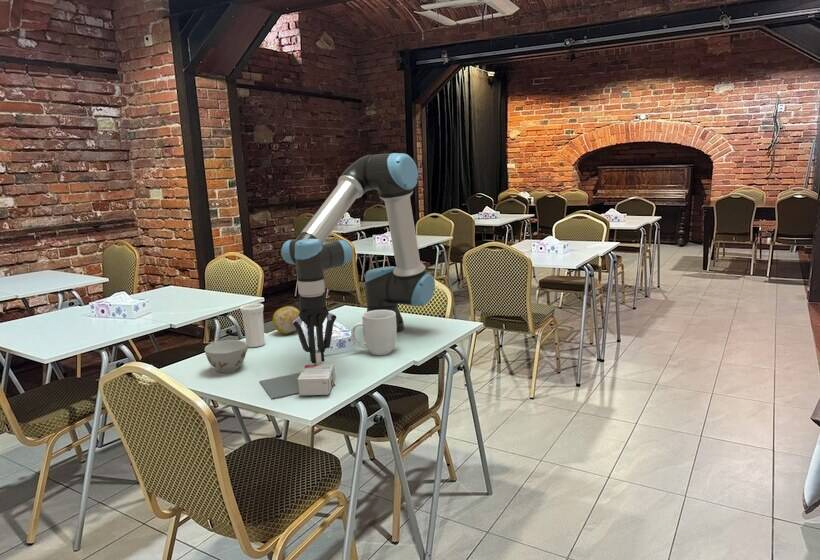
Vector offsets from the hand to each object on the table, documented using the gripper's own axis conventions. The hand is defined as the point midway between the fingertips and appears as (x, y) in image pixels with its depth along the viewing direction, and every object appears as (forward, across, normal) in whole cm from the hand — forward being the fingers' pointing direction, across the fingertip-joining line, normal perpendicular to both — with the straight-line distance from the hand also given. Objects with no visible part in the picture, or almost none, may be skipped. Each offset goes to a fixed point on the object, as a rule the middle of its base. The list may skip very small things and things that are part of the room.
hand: (318, 372), depth 169 cm
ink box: (-1, 0, +2) cm, 2 cm away
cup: (+2, +9, -44) cm, 45 cm away
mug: (+2, -24, -12) cm, 27 cm away
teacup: (+2, +21, -24) cm, 32 cm away
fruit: (+2, -5, -52) cm, 53 cm away
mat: (+2, +7, 0) cm, 7 cm away
